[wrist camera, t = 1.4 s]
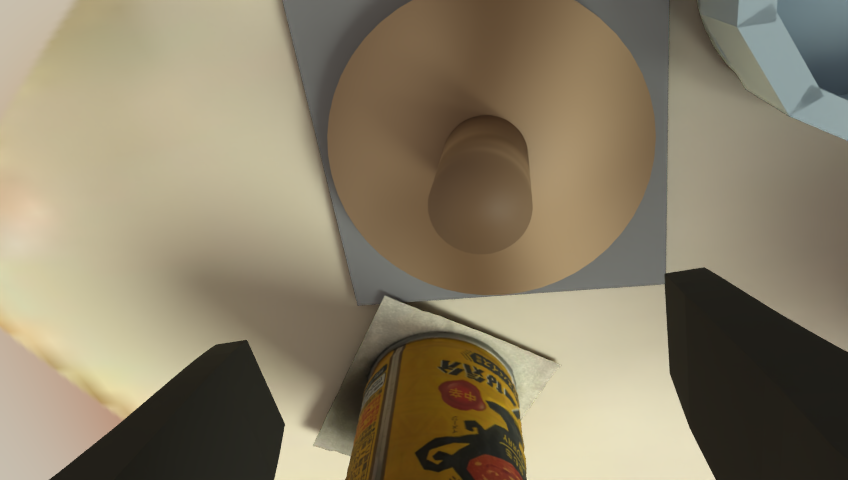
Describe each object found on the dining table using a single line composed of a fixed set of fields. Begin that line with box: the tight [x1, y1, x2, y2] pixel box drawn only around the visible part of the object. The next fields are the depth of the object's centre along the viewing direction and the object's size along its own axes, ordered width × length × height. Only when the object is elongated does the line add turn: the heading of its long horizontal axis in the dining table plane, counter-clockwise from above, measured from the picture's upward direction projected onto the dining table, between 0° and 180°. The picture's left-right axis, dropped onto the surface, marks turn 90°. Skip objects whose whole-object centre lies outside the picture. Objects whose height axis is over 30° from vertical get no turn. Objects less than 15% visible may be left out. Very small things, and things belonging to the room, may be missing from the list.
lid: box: [327, 0, 656, 295], centre depth 17 cm, size 10×10×5 cm
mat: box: [282, 0, 669, 306], centre depth 19 cm, size 11×11×1 cm
